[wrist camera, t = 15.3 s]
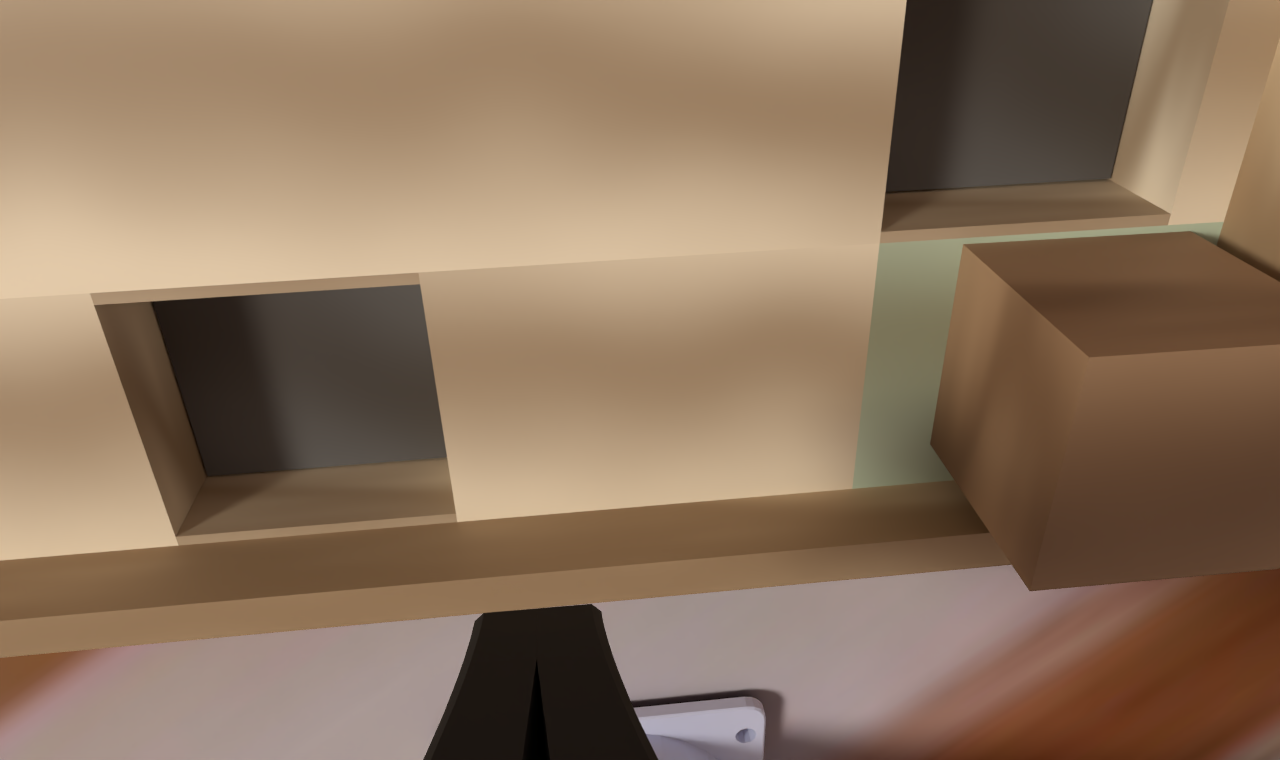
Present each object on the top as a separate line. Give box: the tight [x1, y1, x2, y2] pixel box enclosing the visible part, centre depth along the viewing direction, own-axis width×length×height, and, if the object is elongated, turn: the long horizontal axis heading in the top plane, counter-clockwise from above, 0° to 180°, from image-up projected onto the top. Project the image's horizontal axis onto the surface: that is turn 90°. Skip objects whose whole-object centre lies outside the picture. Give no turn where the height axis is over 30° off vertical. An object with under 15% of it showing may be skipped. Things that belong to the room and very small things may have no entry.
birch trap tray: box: [0, 0, 1280, 658], centre depth 15 cm, size 11×23×4 cm, turn 91°
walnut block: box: [930, 231, 1280, 591], centre depth 15 cm, size 4×4×4 cm
